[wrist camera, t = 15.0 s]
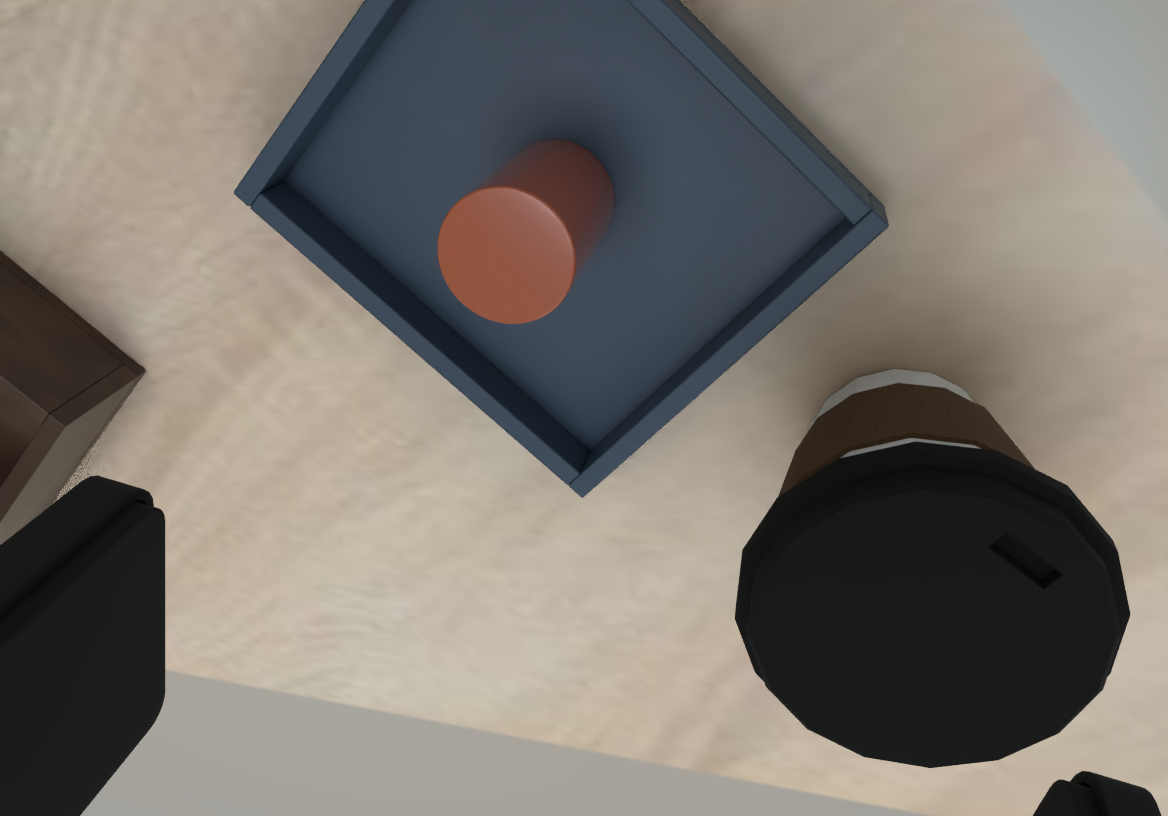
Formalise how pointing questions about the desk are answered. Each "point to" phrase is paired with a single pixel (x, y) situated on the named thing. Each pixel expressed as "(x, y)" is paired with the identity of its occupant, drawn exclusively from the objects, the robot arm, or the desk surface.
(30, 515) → the brown open box
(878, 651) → the coffee cup
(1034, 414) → the desk surface
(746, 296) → the tray
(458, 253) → the orange cylinder
